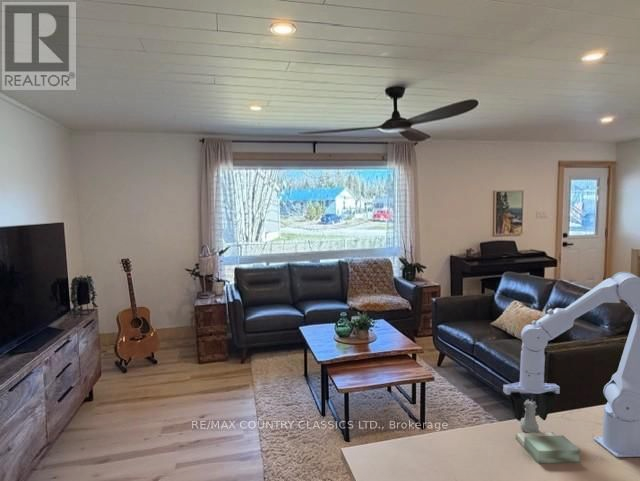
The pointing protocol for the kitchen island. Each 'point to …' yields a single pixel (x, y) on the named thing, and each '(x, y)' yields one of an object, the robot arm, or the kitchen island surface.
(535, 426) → the rook chess piece
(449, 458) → the kitchen island surface
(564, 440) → the stepped riser
